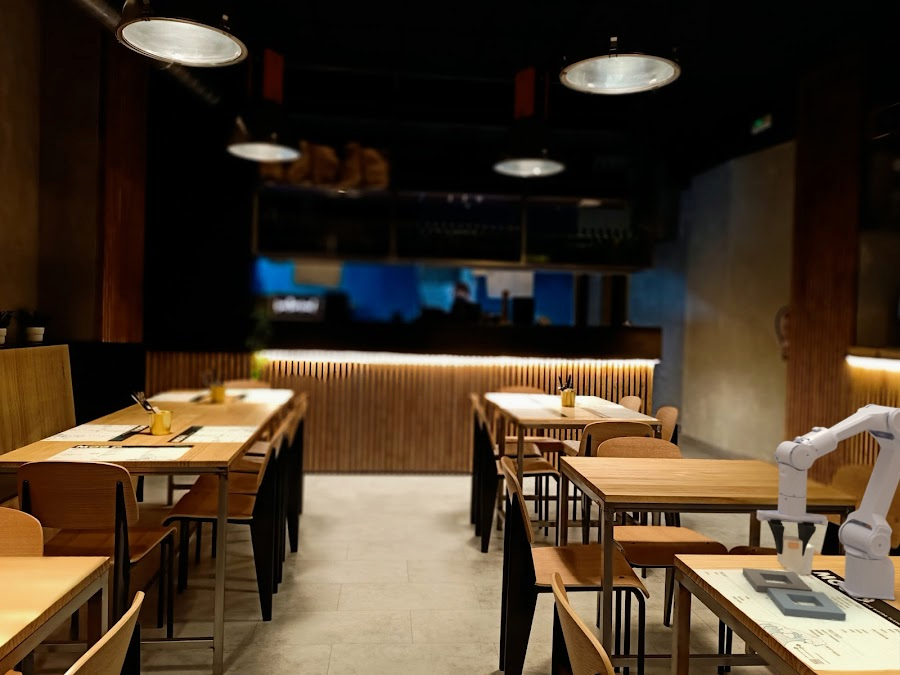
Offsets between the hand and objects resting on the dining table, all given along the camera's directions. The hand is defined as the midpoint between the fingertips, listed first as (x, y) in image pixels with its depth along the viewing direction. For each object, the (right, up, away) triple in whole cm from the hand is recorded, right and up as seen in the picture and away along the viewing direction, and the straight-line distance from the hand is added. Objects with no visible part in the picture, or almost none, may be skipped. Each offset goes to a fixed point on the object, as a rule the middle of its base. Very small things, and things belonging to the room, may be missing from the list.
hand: (790, 553), depth 156 cm
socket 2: (0, -9, -7) cm, 12 cm away
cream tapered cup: (+10, -10, +17) cm, 22 cm away
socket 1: (0, -9, +6) cm, 11 cm away
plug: (0, -3, 0) cm, 3 cm away
